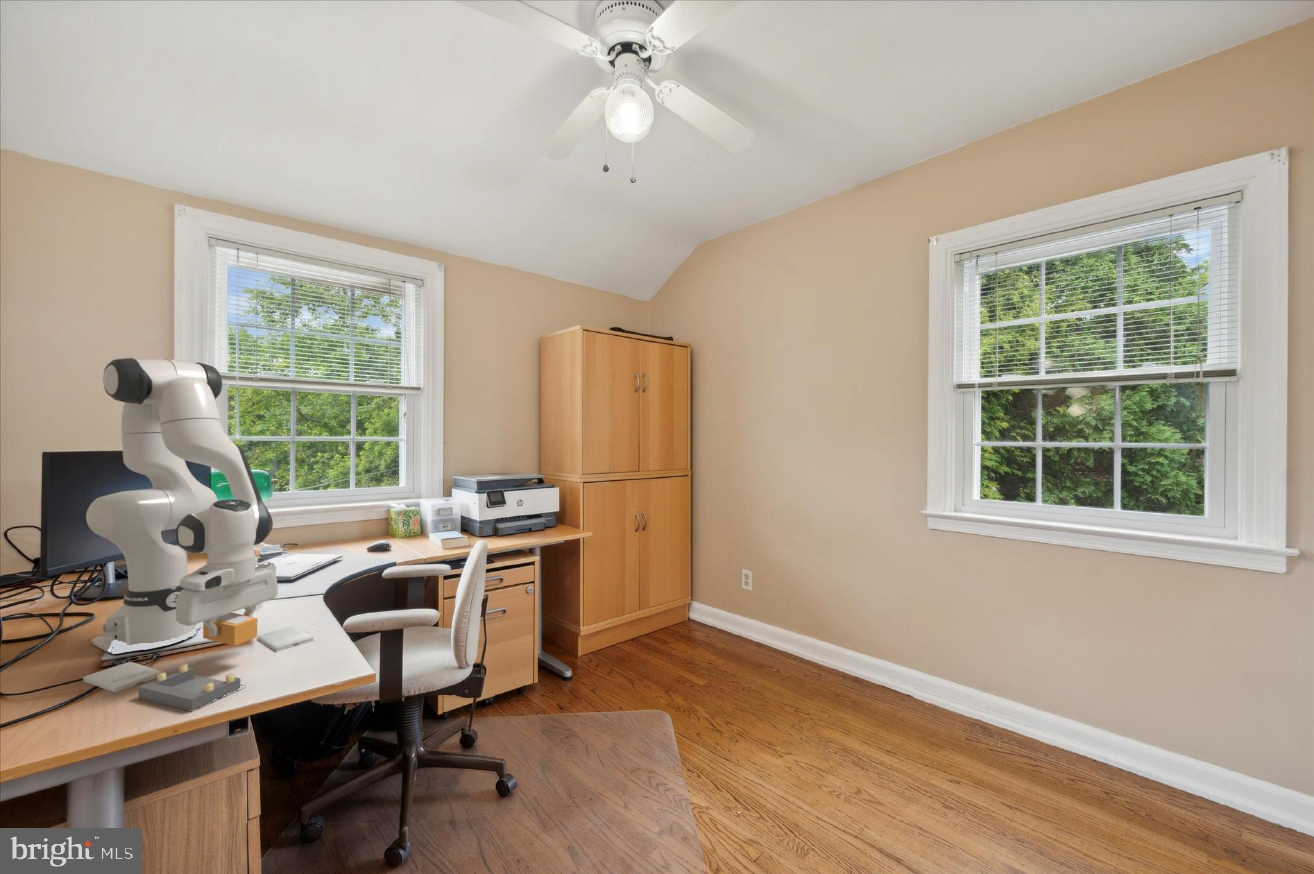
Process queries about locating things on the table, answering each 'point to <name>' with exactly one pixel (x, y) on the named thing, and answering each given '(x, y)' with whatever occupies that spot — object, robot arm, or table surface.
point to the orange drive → (233, 629)
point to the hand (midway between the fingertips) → (230, 630)
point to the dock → (187, 689)
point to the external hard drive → (121, 676)
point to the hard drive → (285, 638)
